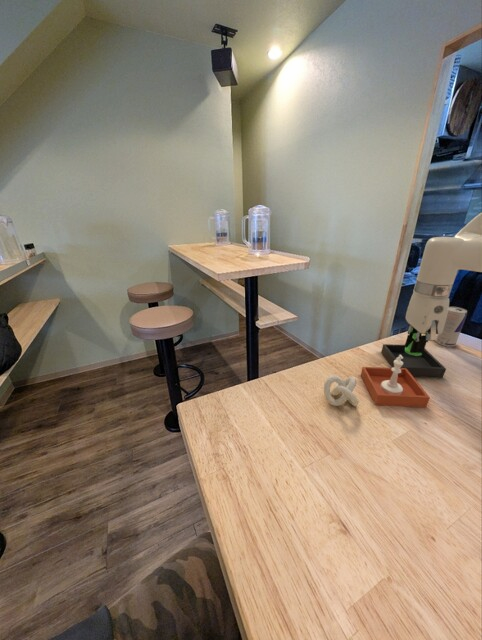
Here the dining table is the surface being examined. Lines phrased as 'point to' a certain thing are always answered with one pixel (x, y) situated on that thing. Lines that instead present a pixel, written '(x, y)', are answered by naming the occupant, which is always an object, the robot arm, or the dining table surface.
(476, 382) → the dining table surface
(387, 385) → the chess piece
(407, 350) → the game piece
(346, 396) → the knot
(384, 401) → the terracotta bin
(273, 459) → the dining table surface
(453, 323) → the energy drink
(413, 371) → the charcoal bin
